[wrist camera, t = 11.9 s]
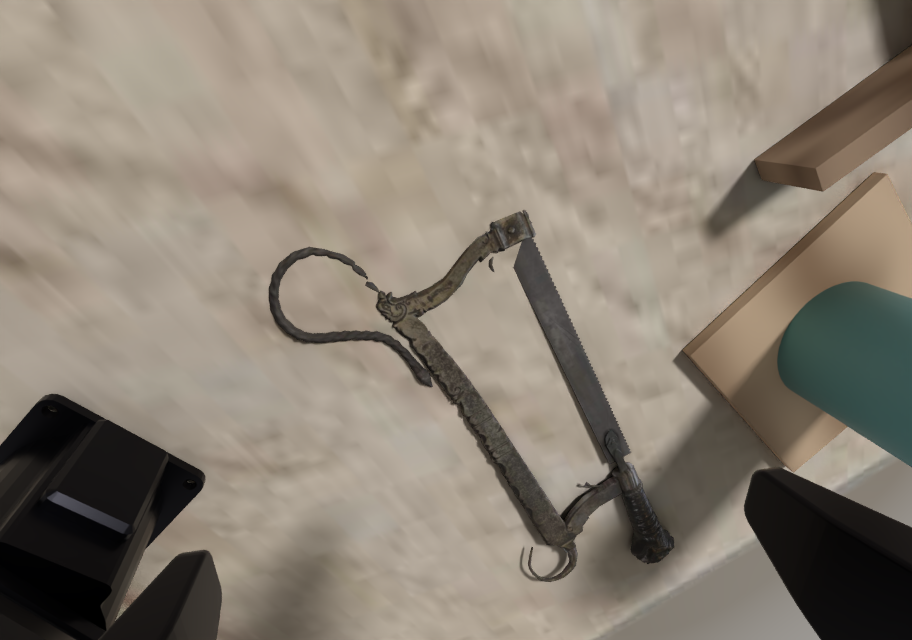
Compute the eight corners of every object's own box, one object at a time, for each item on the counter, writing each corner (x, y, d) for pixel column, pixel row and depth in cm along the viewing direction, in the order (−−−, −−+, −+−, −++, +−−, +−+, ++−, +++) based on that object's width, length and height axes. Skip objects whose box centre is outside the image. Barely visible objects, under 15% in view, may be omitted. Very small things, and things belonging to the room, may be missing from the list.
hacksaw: (669, 538, 29) (685, 559, 28) (509, 627, 30) (517, 652, 28) (492, 137, 19) (504, 140, 18) (246, 276, 19) (239, 289, 18)
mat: (784, 465, 29) (793, 472, 28) (682, 350, 24) (690, 355, 24) (950, 323, 27) (963, 328, 27) (874, 172, 23) (887, 174, 22)
